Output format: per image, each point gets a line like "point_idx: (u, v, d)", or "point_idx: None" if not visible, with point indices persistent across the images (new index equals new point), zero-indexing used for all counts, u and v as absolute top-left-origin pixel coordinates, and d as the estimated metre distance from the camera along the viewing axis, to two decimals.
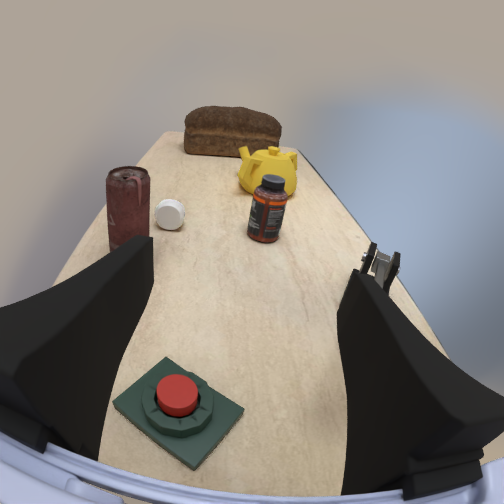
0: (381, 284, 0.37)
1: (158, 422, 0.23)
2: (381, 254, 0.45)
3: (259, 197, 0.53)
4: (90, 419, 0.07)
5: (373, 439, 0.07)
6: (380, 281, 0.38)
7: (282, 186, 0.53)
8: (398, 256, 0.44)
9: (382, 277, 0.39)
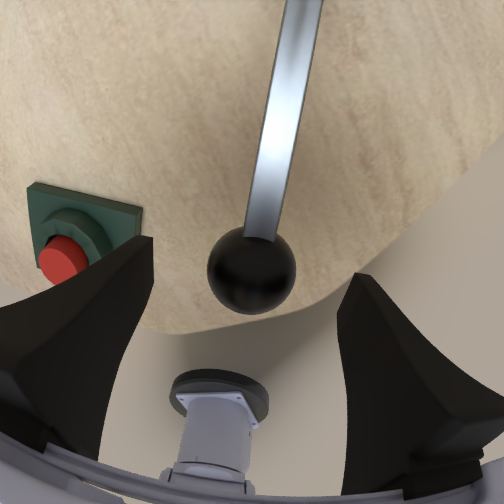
0: None
1: None
2: None
3: None
4: (90, 419, 0.07)
5: (373, 439, 0.07)
6: None
7: None
8: None
9: None
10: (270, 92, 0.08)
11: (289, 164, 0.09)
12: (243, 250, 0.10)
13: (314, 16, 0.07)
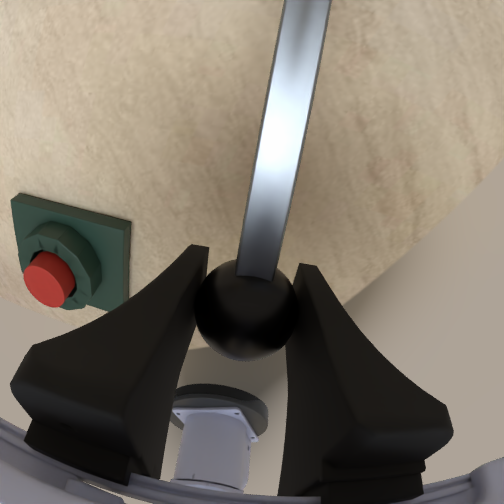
0: None
1: (62, 307, 0.21)
2: None
3: None
4: (160, 439, 0.07)
5: (300, 439, 0.07)
6: None
7: None
8: None
9: None
10: (268, 99, 0.07)
11: (291, 190, 0.08)
12: (235, 293, 0.08)
13: (323, 3, 0.06)
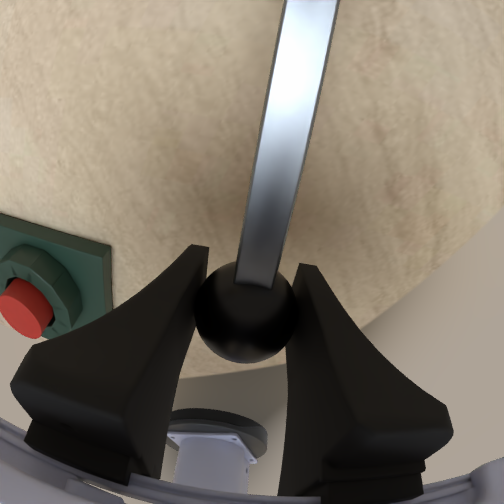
0: None
1: (43, 336, 0.18)
2: None
3: None
4: (160, 439, 0.07)
5: (300, 439, 0.07)
6: None
7: None
8: None
9: None
10: (267, 106, 0.06)
11: (292, 202, 0.07)
12: (234, 302, 0.08)
13: None
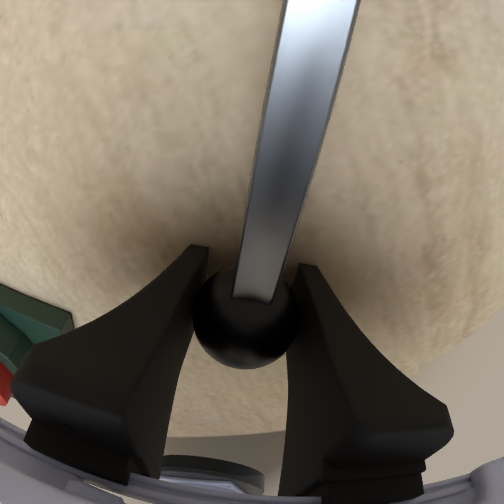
0: None
1: (12, 396, 0.14)
2: None
3: None
4: (159, 439, 0.07)
5: (301, 439, 0.07)
6: None
7: None
8: None
9: None
10: (264, 124, 0.05)
11: (294, 228, 0.06)
12: (231, 319, 0.08)
13: None
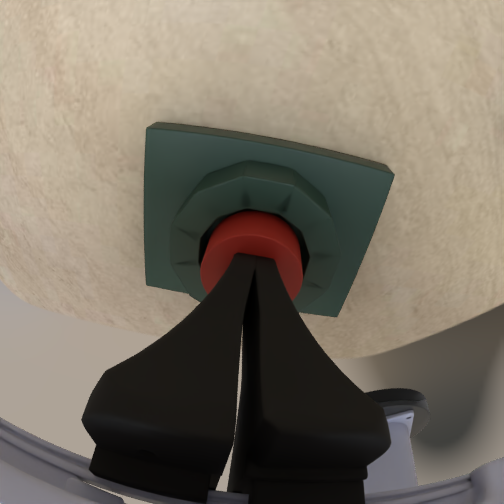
0: None
1: None
2: None
3: None
4: None
5: (240, 433, 0.07)
6: None
7: None
8: None
9: None
10: None
11: None
12: None
13: None
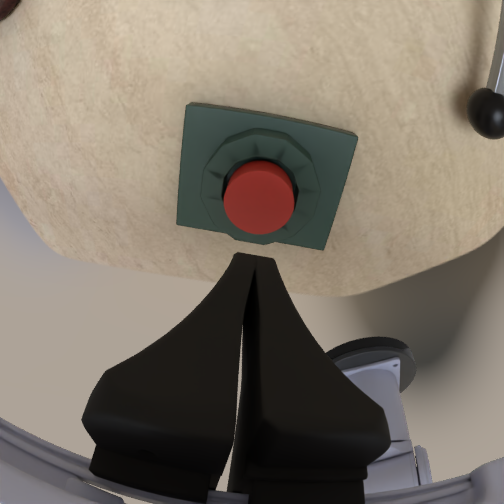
0: None
1: (257, 241, 0.19)
2: None
3: None
4: None
5: (240, 433, 0.07)
6: None
7: None
8: None
9: None
10: None
11: None
12: (498, 99, 0.12)
13: None
